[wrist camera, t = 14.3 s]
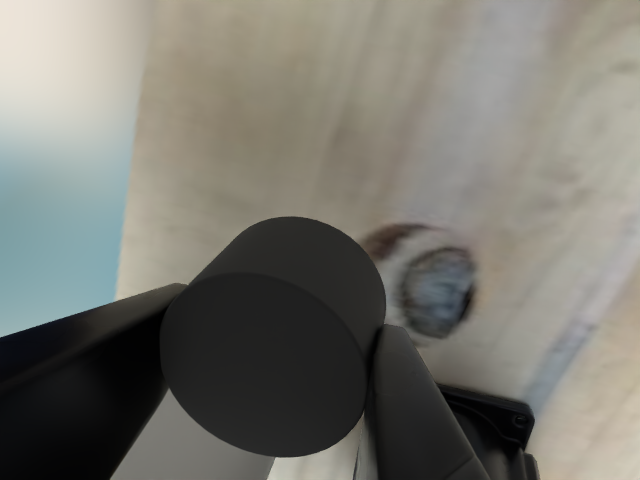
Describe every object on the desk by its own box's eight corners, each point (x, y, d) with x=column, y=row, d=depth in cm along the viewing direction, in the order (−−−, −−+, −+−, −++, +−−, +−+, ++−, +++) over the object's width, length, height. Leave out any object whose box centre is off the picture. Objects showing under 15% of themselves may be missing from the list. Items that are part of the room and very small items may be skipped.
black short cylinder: (218, 350, 11) (161, 431, 9) (218, 201, 10) (151, 254, 8) (373, 385, 11) (354, 481, 8) (399, 231, 9) (383, 297, 7)
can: (204, 266, 21) (-48, 516, 10) (334, 381, 22) (227, 725, 11) (120, 361, 24) (-138, 627, 14) (236, 459, 25) (79, 784, 14)
